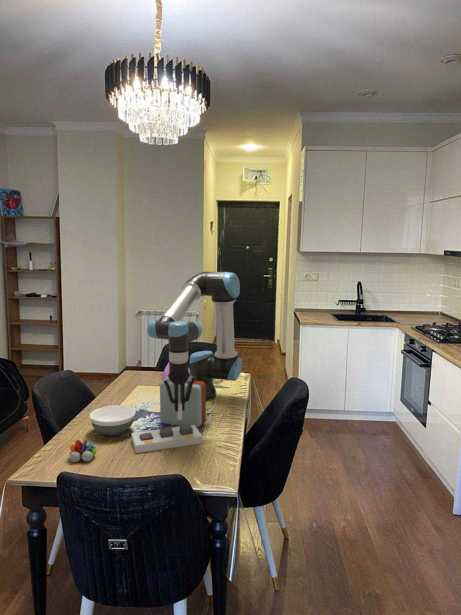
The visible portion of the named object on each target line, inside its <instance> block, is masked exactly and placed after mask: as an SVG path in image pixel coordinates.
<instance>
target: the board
mask: <svg viewBox="0 0 461 615" xmlns="http://www.w3.org/2000/svg"><path fill="white" fill-rule="evenodd" d="M191 427H192V428H193V434H187V435H181V433H180V427H179V426H174V427H171V428H172V430H173V437H166V438H161V436H160V428H159V429H154V430H146V431H138V432H131V443H132V445H133V448H134V451H135V454H139V453H147V452H152V451H160V450H166V449H173V448H180V447H187V446H193V445H200V444H203V435H202V434H201V432H200V431H199V429H198V428H196V427H195V425H191ZM144 433H151V434H152V436H153V439H151V440H144V441H141V440H140V434H144Z"/></svg>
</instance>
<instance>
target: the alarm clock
mask: <svg viewBox="0 0 461 615" xmlns="http://www.w3.org/2000/svg"><path fill="white" fill-rule="evenodd" d="M188 379H189V378H188ZM188 379H187V381H186V382H185V395H186V391H187V386H188V382H189V380H188ZM169 382H170V383H169V386H170V389H171V393H172V397H173V399H174V384H173V383H172V381H171V380H169ZM178 402H181V400H180V384H179V385H178ZM206 402H207V401H206V384H205V383H204V382H202V381H194V383H193V385H192V390H191V394H190V398H189V401H186V402H185V410H184V411H182V420H178V418H177V412H176V411H175V408H174V403H171V402H170V399H169V396H168V392H167V389H166V385H165V384H164V382H163V381H162V382H161V383H160V385H159V406H160V408H159V411H160V413H159V415H160V416H159V417H160V422H161V423H163V424H165V425H174V426H177V427H179V426H182V425H195V427H196V428H197V429H198V428H200V427H201V426H202V424H204V423H205V421H206V420H207V415H206V414H207V408H206V407H207V406H206V405H207V404H206Z"/></svg>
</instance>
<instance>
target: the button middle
mask: <svg viewBox="0 0 461 615" xmlns="http://www.w3.org/2000/svg"><path fill="white" fill-rule="evenodd" d="M172 428H173V427H171V426H169V427H161V428H159V429H160V436H161V438H166V437H173V430H172Z"/></svg>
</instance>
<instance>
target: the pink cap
mask: <svg viewBox="0 0 461 615" xmlns="http://www.w3.org/2000/svg"><path fill="white" fill-rule="evenodd" d="M188 372H189V374H190V366H188ZM168 375H169V362H168V363H167V365H166V366H165V368H164V370H163V376H162V378H163V379H166V378H167V377H168Z"/></svg>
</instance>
